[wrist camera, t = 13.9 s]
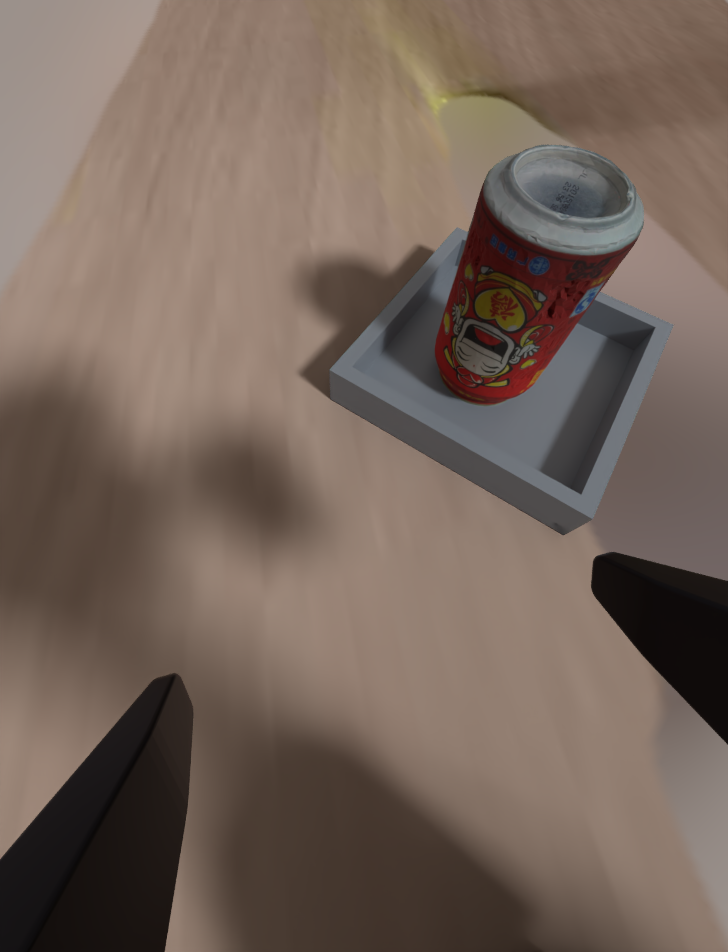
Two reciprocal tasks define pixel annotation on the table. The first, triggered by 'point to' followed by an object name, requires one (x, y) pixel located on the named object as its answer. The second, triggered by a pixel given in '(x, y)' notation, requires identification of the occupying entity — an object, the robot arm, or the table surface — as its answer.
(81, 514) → the table surface
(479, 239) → the soda can
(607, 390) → the slate tray
